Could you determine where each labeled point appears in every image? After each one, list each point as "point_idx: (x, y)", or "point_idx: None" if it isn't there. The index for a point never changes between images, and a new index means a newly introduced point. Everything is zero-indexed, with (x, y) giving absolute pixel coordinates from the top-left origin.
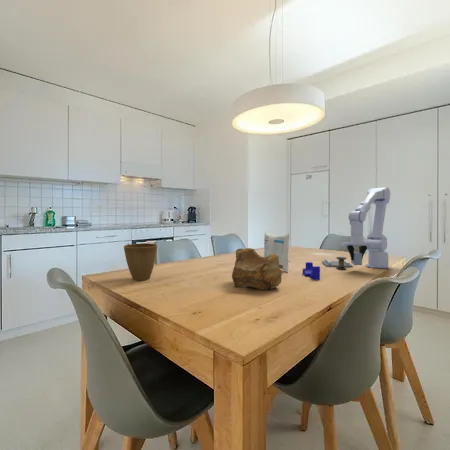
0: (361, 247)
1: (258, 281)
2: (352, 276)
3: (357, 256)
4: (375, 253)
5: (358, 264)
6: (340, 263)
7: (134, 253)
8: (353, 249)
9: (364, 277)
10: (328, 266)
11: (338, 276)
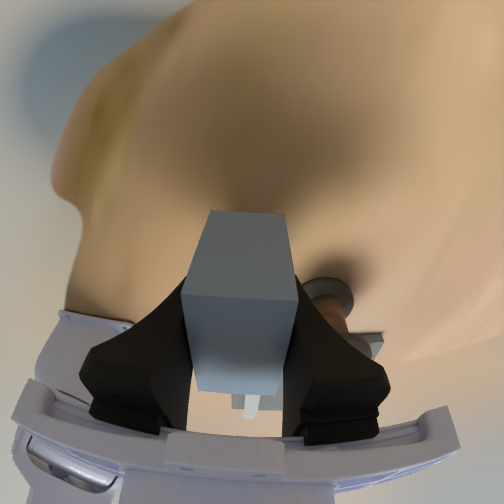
0: (163, 401)
1: None
2: (353, 42)
3: (254, 267)
4: (81, 389)
5: (244, 215)
6: (341, 319)
7: None
8: (318, 363)
9: (266, 9)
10: (371, 336)
11: (445, 62)
